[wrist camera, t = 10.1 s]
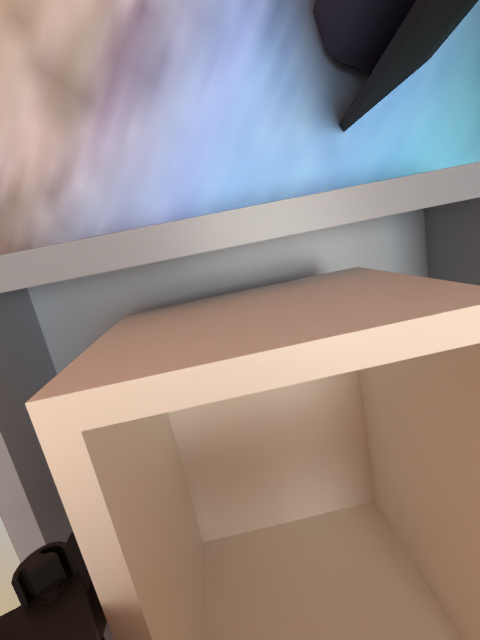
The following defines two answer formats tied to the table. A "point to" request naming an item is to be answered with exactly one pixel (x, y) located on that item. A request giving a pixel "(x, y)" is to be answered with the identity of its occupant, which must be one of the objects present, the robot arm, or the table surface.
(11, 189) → the table surface
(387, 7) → the speaker
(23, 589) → the robot arm
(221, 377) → the small crate
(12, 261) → the big crate
